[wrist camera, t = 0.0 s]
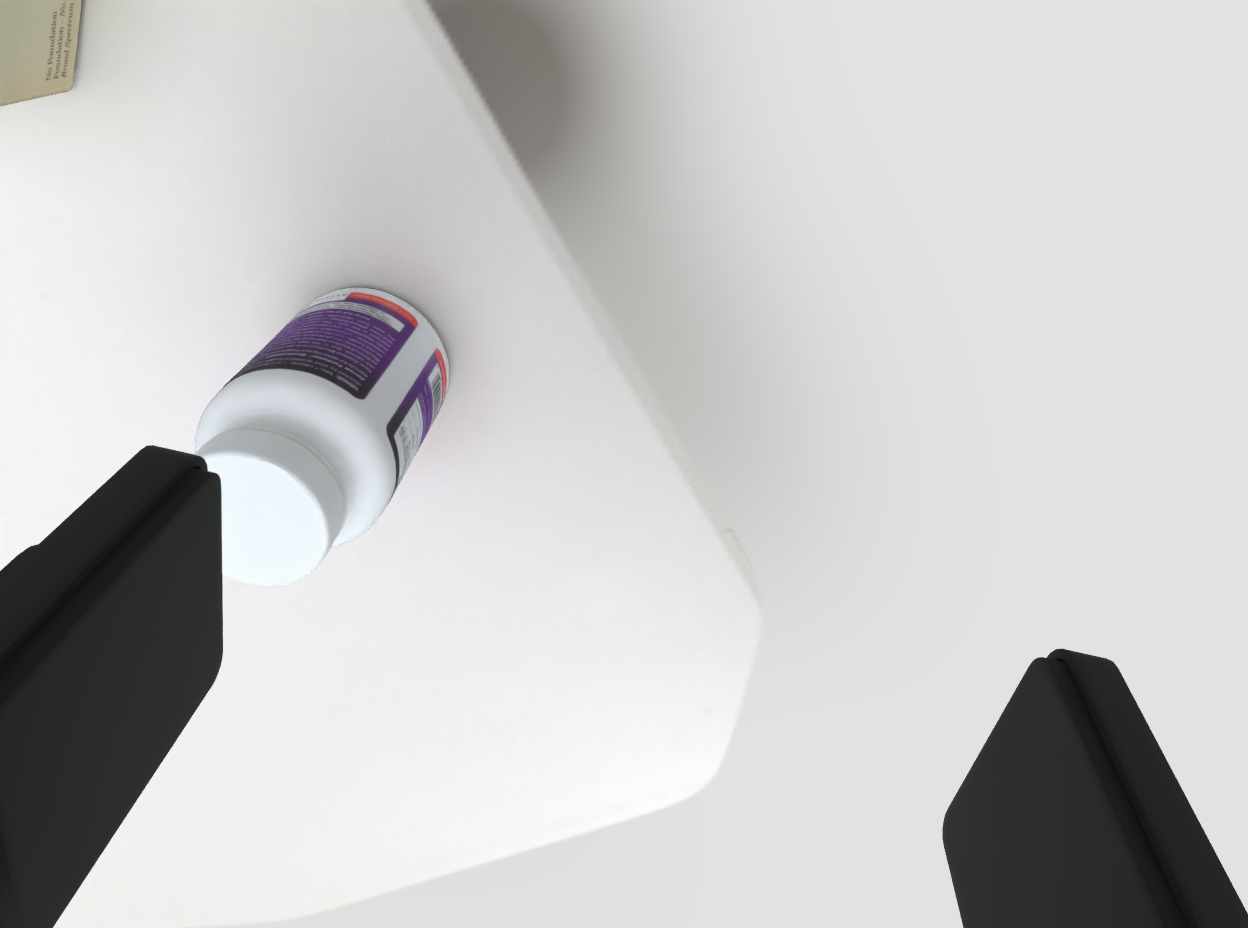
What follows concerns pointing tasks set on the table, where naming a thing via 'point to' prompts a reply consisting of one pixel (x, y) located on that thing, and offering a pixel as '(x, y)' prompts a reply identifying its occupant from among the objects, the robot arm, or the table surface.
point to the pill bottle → (320, 431)
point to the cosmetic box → (37, 48)
